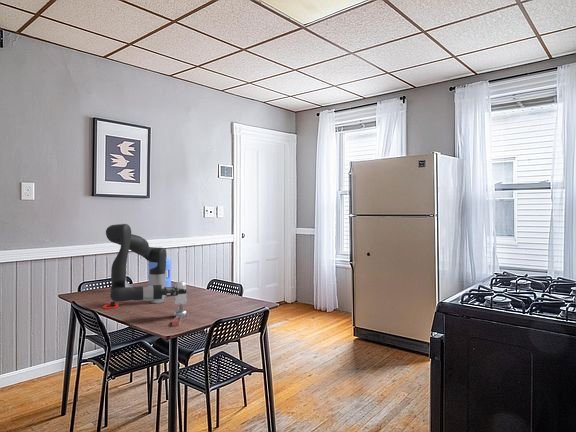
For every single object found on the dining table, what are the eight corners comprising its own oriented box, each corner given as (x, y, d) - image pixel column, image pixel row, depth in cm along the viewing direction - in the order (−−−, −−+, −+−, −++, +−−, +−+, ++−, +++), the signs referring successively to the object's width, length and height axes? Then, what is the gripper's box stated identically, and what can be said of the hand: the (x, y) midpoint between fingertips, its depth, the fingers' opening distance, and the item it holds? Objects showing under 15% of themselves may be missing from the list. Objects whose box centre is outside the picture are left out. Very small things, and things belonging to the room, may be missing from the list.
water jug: (149, 292, 284) (149, 251, 283) (147, 288, 298) (147, 249, 298) (172, 290, 290) (172, 250, 290) (169, 286, 305) (169, 248, 304)
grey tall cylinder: (175, 304, 218) (175, 283, 218) (174, 302, 223) (174, 281, 223) (186, 303, 220) (186, 282, 220) (185, 301, 225) (185, 281, 225)
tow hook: (116, 309, 237) (120, 305, 246) (115, 287, 236) (120, 283, 245) (100, 310, 235) (105, 305, 245) (100, 287, 235) (105, 284, 244)
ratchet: (182, 325, 203) (182, 312, 203) (168, 326, 202) (168, 312, 202) (187, 314, 225) (187, 301, 225) (175, 314, 224) (175, 302, 224)
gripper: (153, 287, 209) (187, 285, 216) (151, 283, 222) (183, 281, 229) (153, 302, 209) (187, 300, 216) (151, 296, 223) (183, 294, 229)
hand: (185, 290), depth 222 cm, fingers closed on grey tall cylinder, 5 cm apart
